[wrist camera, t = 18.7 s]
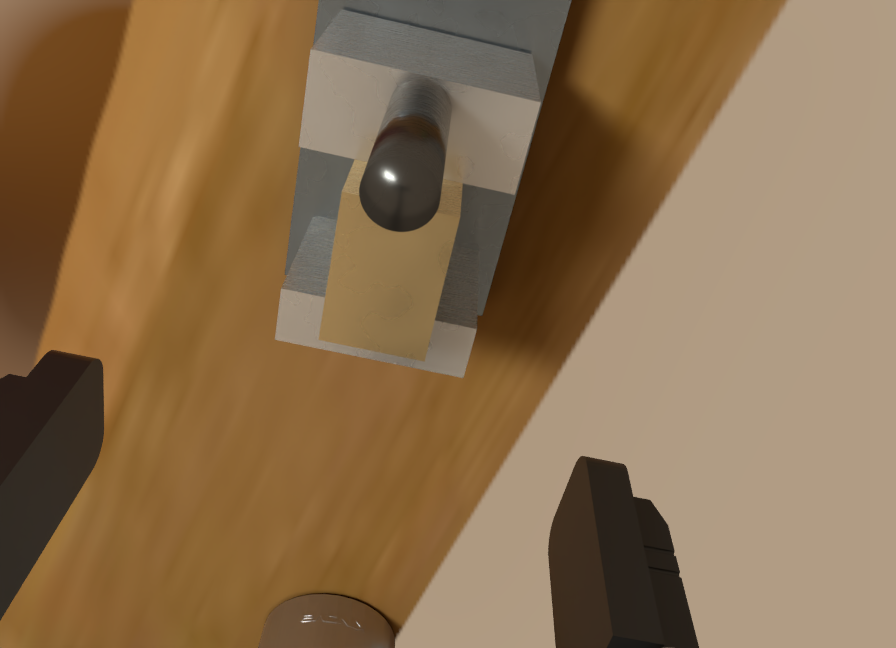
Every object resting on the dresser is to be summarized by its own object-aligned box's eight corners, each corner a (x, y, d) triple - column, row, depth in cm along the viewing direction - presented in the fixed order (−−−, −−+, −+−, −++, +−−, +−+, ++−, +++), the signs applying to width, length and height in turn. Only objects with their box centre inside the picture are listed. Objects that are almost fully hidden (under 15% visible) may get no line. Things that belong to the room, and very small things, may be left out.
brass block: (467, 122, 35) (460, 217, 27) (438, 242, 39) (424, 361, 30) (377, 101, 35) (341, 191, 27) (356, 224, 38) (318, 340, 30)
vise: (482, 301, 42) (480, 400, 35) (291, 260, 41) (248, 354, 34) (591, -90, 32) (620, -63, 25) (344, -152, 31) (300, -143, 24)
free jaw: (511, 134, 35) (521, 297, 23) (330, 93, 35) (245, 238, 23) (532, 54, 34) (555, 186, 22) (341, 9, 33) (255, 119, 21)
